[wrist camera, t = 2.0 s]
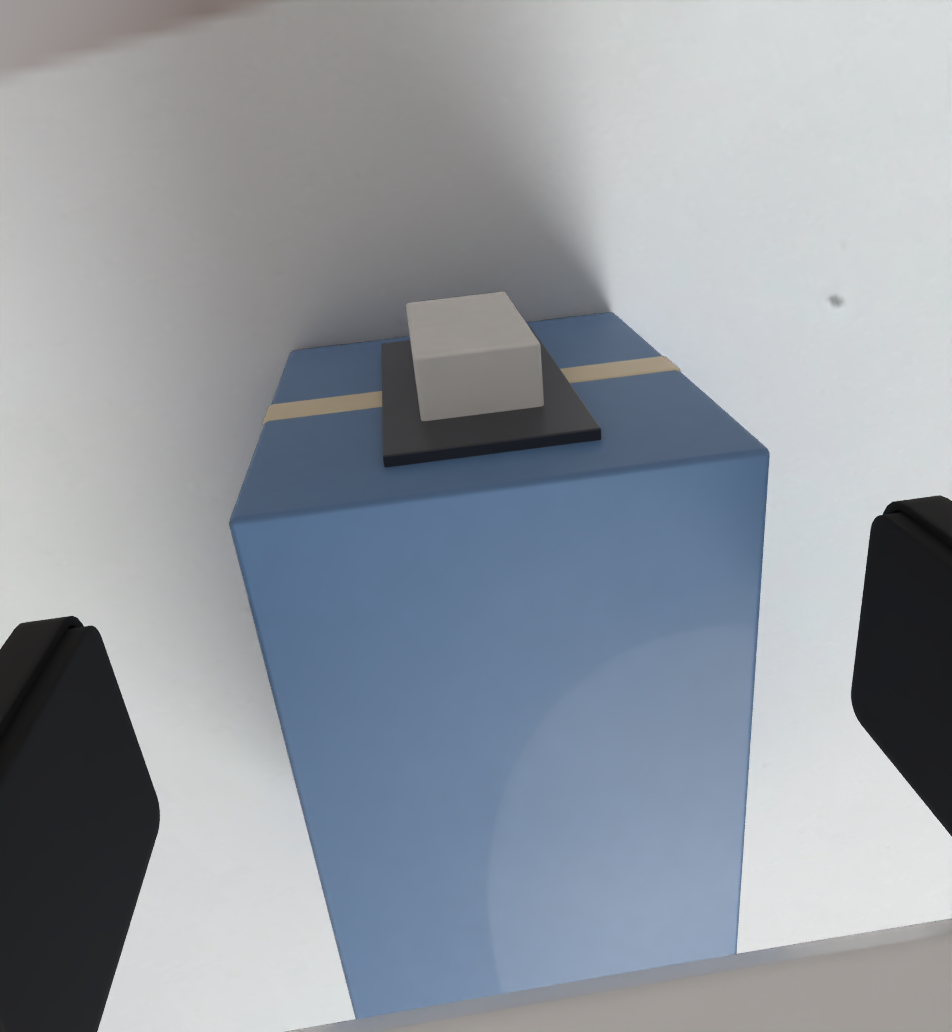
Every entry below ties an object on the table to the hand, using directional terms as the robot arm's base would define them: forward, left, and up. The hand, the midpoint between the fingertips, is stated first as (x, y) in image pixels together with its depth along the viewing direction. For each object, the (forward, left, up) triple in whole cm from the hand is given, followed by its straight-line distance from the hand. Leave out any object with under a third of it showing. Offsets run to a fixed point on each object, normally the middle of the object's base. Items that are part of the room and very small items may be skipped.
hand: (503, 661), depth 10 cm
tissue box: (+4, 0, -7) cm, 8 cm away
